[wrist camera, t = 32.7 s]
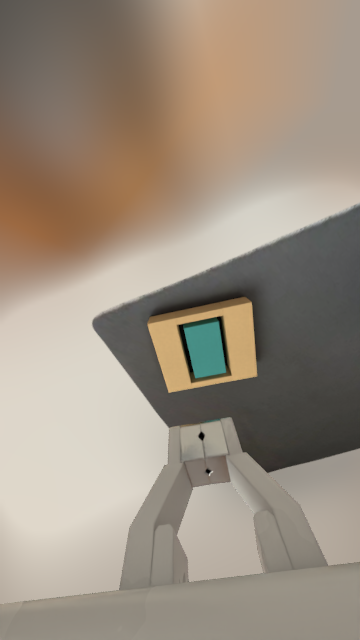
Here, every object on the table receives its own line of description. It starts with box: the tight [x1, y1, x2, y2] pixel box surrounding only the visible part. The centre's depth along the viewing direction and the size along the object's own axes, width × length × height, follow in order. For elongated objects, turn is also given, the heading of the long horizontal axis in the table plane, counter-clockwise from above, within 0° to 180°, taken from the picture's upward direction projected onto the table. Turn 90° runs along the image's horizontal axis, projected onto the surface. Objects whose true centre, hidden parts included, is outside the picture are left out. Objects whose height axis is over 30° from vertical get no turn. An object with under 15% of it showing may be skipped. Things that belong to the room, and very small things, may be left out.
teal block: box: [183, 317, 226, 378], centre depth 32 cm, size 6×10×3 cm, turn 12°
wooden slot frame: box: [147, 297, 257, 392], centre depth 32 cm, size 16×14×3 cm
